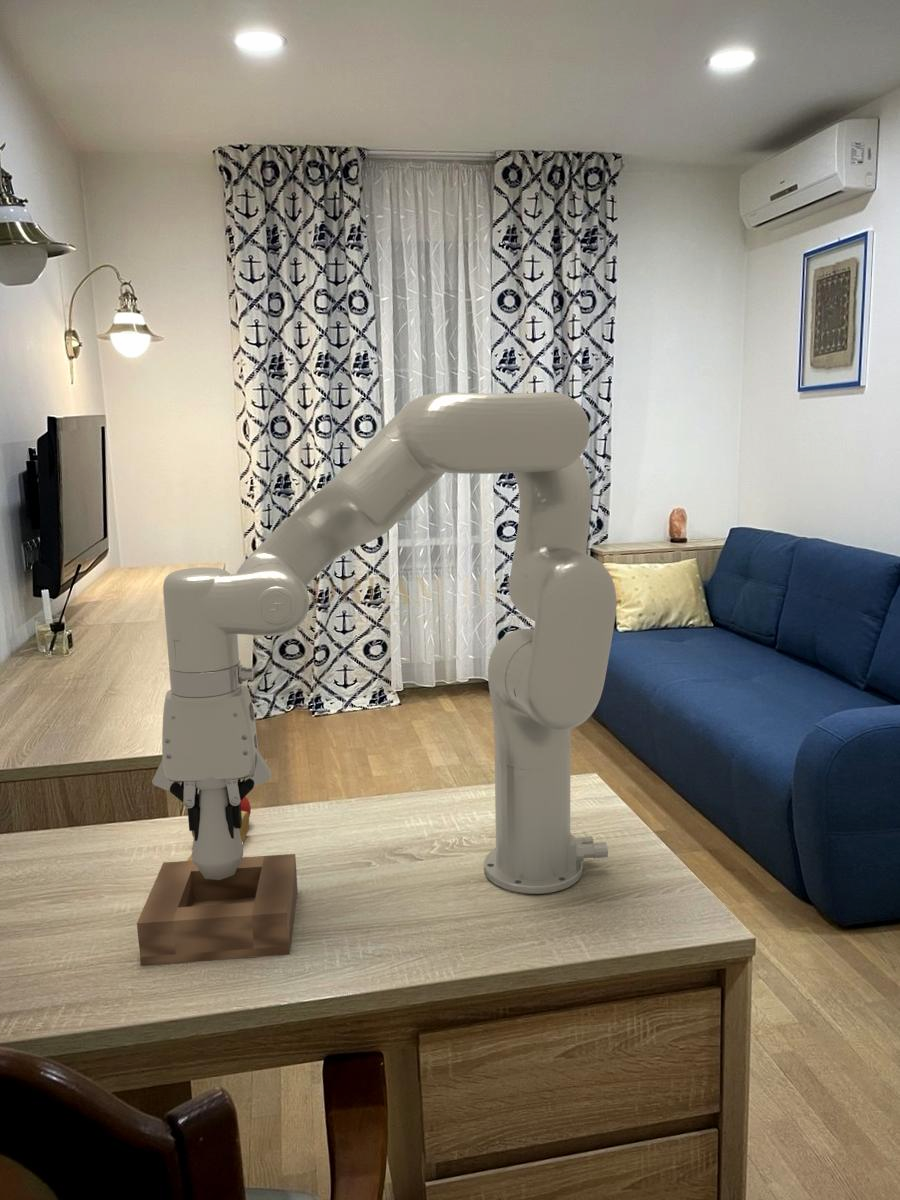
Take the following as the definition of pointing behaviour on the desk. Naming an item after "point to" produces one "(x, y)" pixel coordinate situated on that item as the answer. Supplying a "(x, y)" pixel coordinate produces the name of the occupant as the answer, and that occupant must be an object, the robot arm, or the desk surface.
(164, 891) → the socket block
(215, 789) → the grey rounded peg
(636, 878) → the desk surface
